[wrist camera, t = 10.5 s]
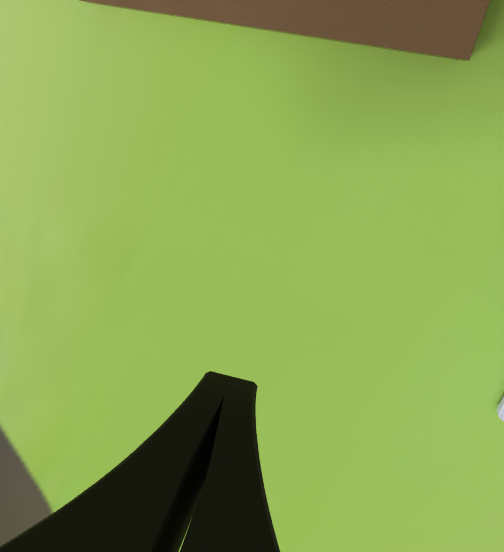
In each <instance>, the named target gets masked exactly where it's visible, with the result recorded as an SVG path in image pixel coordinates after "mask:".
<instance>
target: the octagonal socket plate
mask: <svg viewBox="0 0 504 552" xmlns="http://www.w3.org/2000/svg"><path fill="white" fill-rule="evenodd" d="M80 1H84V2H88V3H94V4H100V5H107V6H113V7H120V8H126V9H132V10H139V11H145V12H152V13H158V14H165V15H171V16H178V17H184V18H191V19H197V20H204V21H210V22H217V23H223V24H230V25H236V26H243V27H249V28H256V29H262V30H269V31H275V32H282V33H288V34H294V35H301V36H307V37H314V38H320V39H327V40H333V41H340V42H346V43H353V44H359V45H366V46H372V47H379V48H385V49H392V50H398V51H405V52H411V53H418V54H424V55H431V56H437V57H444V58H450V59H456V60H470V57H471V54H472V51H473V48H474V45H475V42H476V39H477V36H478V34H479V31H480V28H481V25H482V22H483V19H484V16H485V13H486V10H487V8H488V5H489V2H490V0H80Z"/></svg>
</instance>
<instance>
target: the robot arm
mask: <svg viewBox="0 0 504 552" xmlns="http://www.w3.org/2000/svg"><path fill="white" fill-rule="evenodd" d="M256 392H257V385H256V384H255V383H254V382H251V381H247V380H243V379H239V378H235V377H231V376H227V375H223V374H219V373H215V372H211V371H210V372H208V373H206V374H205V375H204V377H203V378H202V380H201V381H200V382H199V383H198V385H197V386H196V387H195V389H194V390H193V391H192V392H191V394H190V395H189V396H188V397H187V398H186V399H185V401H184V402H183V403H182V404H181V405H180V406H179V407H178V408H177V409H176V410H175V412H174V413H173V414H172V415H171V416H170V417H169V418H168V419H167V420H166V421H165V422H164V423H163V424H162V425H161V426H160V427H159V428H158V429H157V430H156V431H155V432H154V433H153V434H152V435H151V436H150V437H149V438H148V439H147V440H145V441H144V442H143V443H142V444H141V445H140V446H139V447H138V448H137V449H136V450H135V451H134V452H133V453H131V454H130V455H129V456H128V457H127V458H126V459H124V460H123V461H122V462H121V463H120V464H119V465H117V466H116V467H115V468H114V469H112V470H111V471H110V472H109V473H107V474H106V475H105V476H104V477H103V478H101V479H100V480H99V481H97V482H96V483H95V484H93V485H92V486H91V487H89V488H88V489H87V490H85V491H84V492H83V493H81V494H80V495H78V496H77V497H76V498H74V499H73V500H72V501H70V502H69V503H67V504H66V505H65V506H63V507H62V508H60V509H59V510H57V511H56V512H54V513H53V514H51V515H50V516H48V517H46V518H45V519H43V520H42V521H40V522H39V523H37V524H36V525H34V526H32V527H31V528H29V529H28V530H26V531H25V532H23V533H22V534H20V535H18V536H17V537H15V538H14V539H12V540H10V541H9V542H7V543H5V544H4V545H2V546H1V547H0V552H179V549H180V546H181V544H182V541H183V539H184V536H185V534H186V536H185V539H184V542H183V545H182V547H181V550H180V552H280V550H279V546H278V543H277V539H276V535H275V532H274V528H273V524H272V520H271V516H270V512H269V507H268V503H267V498H266V494H265V489H264V483H263V478H262V472H261V466H260V459H259V451H258V443H257V434H256V416H255V403H256ZM497 414H498V416H499V418H500V419H501V420H503V421H504V397H503V399H502V400H501V402H500V404H499V405H498V407H497ZM190 521H191V522H190ZM189 524H190V525H189ZM188 526H189V528H188ZM187 529H188V531H187ZM186 531H187V533H186Z"/></svg>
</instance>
